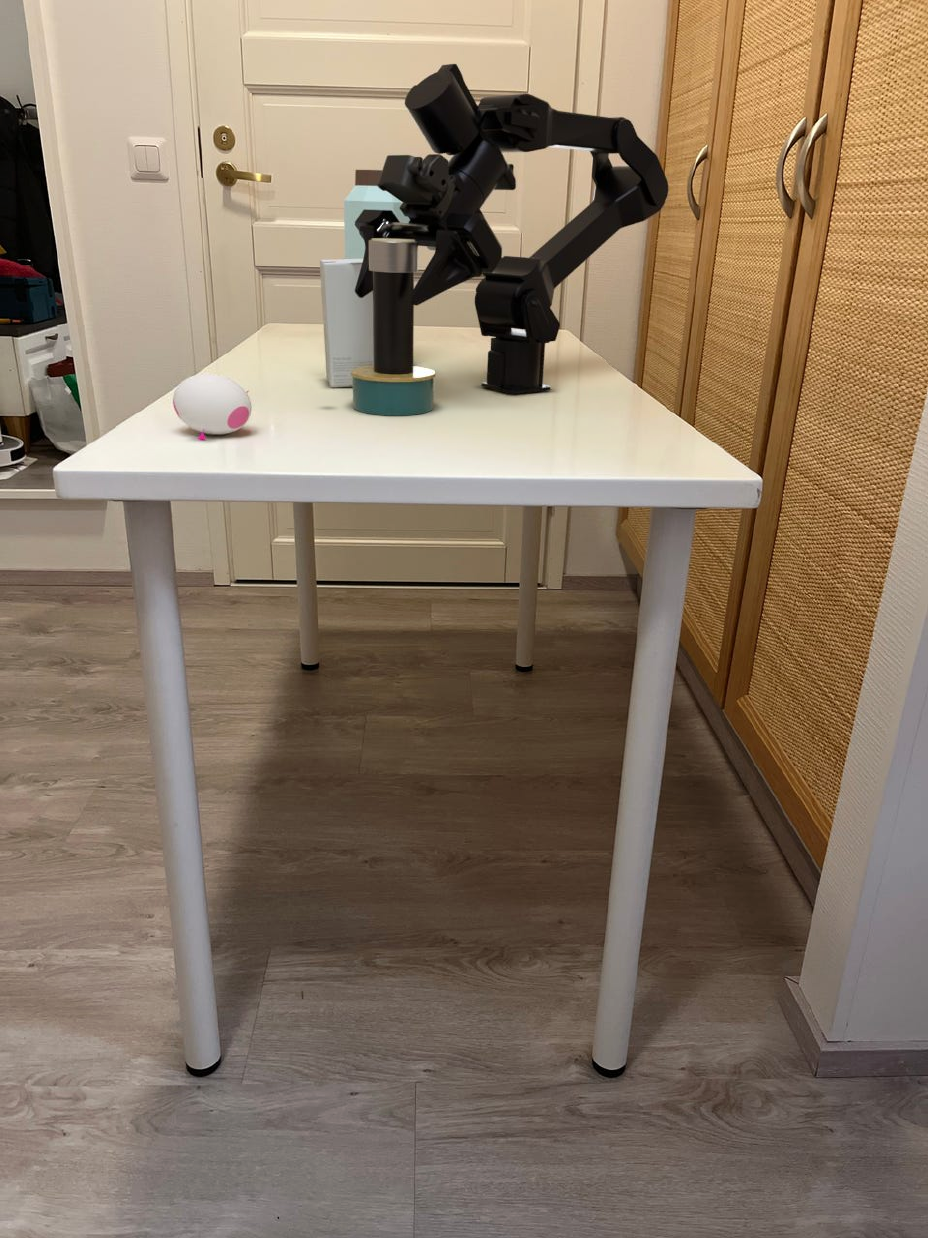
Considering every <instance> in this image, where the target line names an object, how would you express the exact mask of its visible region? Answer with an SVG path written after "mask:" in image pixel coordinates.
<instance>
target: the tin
mask: <svg viewBox="0 0 928 1238" xmlns="http://www.w3.org/2000/svg"><path fill="white" fill-rule="evenodd" d="M351 376H353V387H352V408H353V409H354V410H355V411H357V412H360V413H364V414H369V415H376V416H389V417H390V416H393V417H394V416H395V417H396V416H398V417H399V416H400V417H402V416H416V415H421V414H426V413H429V412H431V411H432V410H433V409H434V378H435V377H436V371H435V370H433V369H431V368H428V367H422V366H417V365H415V366H414V365H413V372H412V373H409V374H396V375H395V374H381V373H377V372H374V365H371V366H362V367H357V368H354V369H352V370H351Z"/></svg>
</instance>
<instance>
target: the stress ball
mask: <svg viewBox="0 0 928 1238" xmlns="http://www.w3.org/2000/svg"><path fill="white" fill-rule="evenodd" d="M248 392H249V390H247V391H246V390H245V388H243V386H242V385H241V384H240V383H238V382H236V381H235V380H234V379H232V378H229V377H227V376H225V375H220V374H216V373H200V374H195V375H191V376H189V377H187V378H185V379H184V380H183V381H181V382H179V384H178V385H177V387H176V388H175V390H174V393H173V395H172V404H173V408H174V411H175V413H176V415H177V417H178V418H179V419H180V420H181V422H183V423H184V424H185V425H186V426H187V427H189V428H191V429H193V430H195V431H197V432H200V435H199V436H198V437H197V438H196V440H200V441H207V439H206V437H205V434H207V435H215V436H217V435H220V436H221V435H228V434H231V433H234V432H236V431H238V430H240V429H241V428H242V427H244V426H245V425H246V424H247V423H248V421H249V419H250V417H251V415H252V411H253V410H252V407H253V406H252V405H253V404H252V401H251V398H250V396H249V394H248Z"/></svg>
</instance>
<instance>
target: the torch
mask: <svg viewBox="0 0 928 1238" xmlns="http://www.w3.org/2000/svg"><path fill="white" fill-rule="evenodd" d="M369 270H370V271H373V356H374V372H377V373H381V374H395V375H396V374H409V373H412V372H413V366H414V346H415V345H414V344H415V343H414V342H415V341H414V340H415V339H414V336H415V335H414V330H415V328H414V327H415V324H414V323H415V319H414V318H415V305H413V303H412V302H411V301H410V296H411V294H412V292H413V290H414V288H415V273H418V272H419V246H418V242H417V241H415V240H412V239H391V238H373V239H372V240H369Z"/></svg>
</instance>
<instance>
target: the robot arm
mask: <svg viewBox="0 0 928 1238" xmlns="http://www.w3.org/2000/svg"><path fill="white" fill-rule="evenodd" d="M404 105H405V108H406V109H407V111H408V113H409V114H410V116H411V118H412V119H413V121H414V123H415V124H416V126H417V127H418V129H419V131H420V132H421V134H422V135H423V137H424V139H425V140H426V142H427V144H428V145H429V147H430V149H431V150H432V152H433V153H434V154H433V153H432V154H431V153H429V154H427V155H426V156H425V157H424V158H423V157H421V156H413V155H410V154H389V155H386V158H385V161H384V164H383V166H382V169H381V170H382V173H381V176H380V179H379V182H378V185H377V186H378V187H379V188H380V189H381V190H382V191H385V190H386V191H387V192H389V193H390V194H391V195H393V196H394V197H396V198H397V199H399V200H400V201H402V202H403V203H402V205H401V206H400V207H399V208H400V210H401V211H402V213H403V214H404V216H408V217H409V219H410V221H409V223H400V222H399V220H398V219H397V217H396V216H395V214H394V213H393V211H392V210H369V209H364V210H363V211H362V213H361V214H360V215H359V217H358V218H357V220H356V221H355V226H356V228H357V229H358V230H359V234H360V235H361V237H362V238H363V240H364V242H365V253H364V258H363V262H362V266H361V269H360V273H359V276H358V280H357V284H356V287H355V293H356V294H357V296H358V297H359V298H363V297H364V296H366V295H367V294H369V293H370V292H372V291H373V271H370V270H369V240H372V239H373V238H391V239H412V240H415V241H417V242H418V247H426V248H427V249H428V250H429V251H434V253H433V256H432V257H431V259H430V261H429V262H428V264H427V265H426V267H425V269H424V270H423V272H422V274H421V275H420V277H419V278H418V281H417V282H416V284H415V285H414V290H413V292H412V294H411V296H410V301H411V302H412V303H413V305H414V306H417V307H418V306H419V305H421V304H423V303H425V302H427V301H428V300H431V299H433V298H434V297H436V296H438V295H440V294H441V293H444V292H447V291H448V290H449V289H452V288H455V287H456V286H458V285H460V284H462V283H465V282H467V281H469V280H472V279H473V278H480V277H481V276H483V277H484V278H482V279H481V280H480V281H479V282H478V284H477V286H476V287H475V295H474V307H475V312H476V316H477V321H478V325H479V329H480V334H481V336H483V337H490V350H488V352H487V365H486V366H487V367H486V368H487V370H486V381H482V382H481V387H483V388H487V389H491V390H494V391H499V392H501V393H505V394H511V395H516V394H524V393H525V394H526V393H535V392H544V391H545V392H546V391H551V390H552V389H551V388H552V387H551V385H547V384H544V370H545V369H544V367H545V353H546V352H545V351H546V344H550V342H556V340H557V337H558V335H559V331H560V328H561V323H560V321H559V320H558V317H557V316H556V315H555V313H554V312H553V310H552V309H551V307H552V306H553V299H554V294H555V289H556V288H557V287H558V286H559V285H560V284H561V283H563V281H565V279H567V278H568V277H569V276H570V275H571V274H573V273H574V271H576V270H577V269H578V268H579V267H580V266H581V265H582V264H583V263H585V261H586V260H587V259H589V258H591V256H593V254H594V253H595V252H597V250H598V249H600V248H601V247H602V246H603V245H604V244H605V243H606V242H607V241H609V239H611V238H612V237H613V236H614V235H615V234H617V232H619V230H621V229H623V228H626V227H629V226H632V225H636V224H640V223H642V222H645V221H646V220H648V219H649V218H652V217H653V216H655V215H657V214H658V213H660V211H662V209H663V207H664V205H665V204H666V201H667V198H668V196H669V195H668V194H669V182H668V179H667V177H666V174H665V171H664V168H663V167H662V164H661V162H660V159H659V157H658V156H657V154H656V153H655V152H654V151H653V150H652V149H651V148H650V147H649V145H647V144H646V143H645V142H644V141H643V140H642V139H641V138H640V137H639V136H638V134H637V131H636V128H635V126H634V124H633V122H632V121H631V120H630V119H629V118H626V117H624V116H616V117H608V116H607V117H606V116H600V115H593V114H585V113H579V112H578V113H577V112H570V111H562V110H558V109H555V108H553V107H552V106H551V104H550V103H549V102H548V101H546V100H544V99H543V98H540V97H538V96H535V95H533V94H531V93H518V94H504V95H493V96H492V95H491V96H484V97H482V98H480V100H479V103H478V104H477V102H476V100H475V99H474V96H473V94H472V93H471V91H470V89H469V88H468V86H467V84H466V82H465V79H464V76H463V74H462V71H461V70H460V68H459V66H458V65H457V63H449V64H442V65H441V66H440V68H439V69H438V70H437V71H436V72H434V73H432V74H430V75H428V76H427V77H425V78H424V79H422V80H421V81H420V82H419V83H418V84H415V85H413V86H412V87H411V88H410V90H409V91H408V93H406V97H405V99H404ZM547 148H554V149H555V148H556V149H565V150H576V151H587V152H590V155H591V158H592V166H591V179H592V181H593V183H594V185H595V187H594V191H593V199H592V201H591V203H589V204H588V205H587V206H586V207H585V208H584V209H582V210H581V211H580V212H579V213H578V214H577V215H576V216H574V218H573V219H571V220H570V221H569V222H568V223H566V224H565V226H563V227H562V228H561V229H560V230H558V232H557V233H555V234H554V235H553V236H552V237H551V238H549V239H548V241H545V243H544V244H542V246H540V247H539V248H538V249H537V250H536V251H534V253H533V254H531V255H530V256H529V257H524V256H511V255H504V256H503V245H502V244H501V243H500V240H499V239H498V237H497V236H496V234H495V232H494V231H493V229H492V227H491V226H490V224H489V223H488V220H487V219H486V217H485V215H484V214H483V211H482V210H481V209H482V207H483V206H484V205H485V203H486V202H487V200H488V199H489V197H490V196H491V194H492V193H493V192H494V191H515V190H516V188H517V179H516V176H515V172H514V168H515V166H514V164H513V163H508V162H507V160H506V158H505V156H504V155H503V153H506V154H507V153H530V152H534V151H539V150H545V149H547ZM443 154H446V155H447V156H451V157H450V158H449V159H447V158H446V157H444V156H443ZM610 154H615V155H617V154H618V155H619V157H620V159H621V161H623V162H624V163H625V164H626V165H615V166H613V164H612V162H611V160H610V157H609V156H610Z"/></svg>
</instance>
